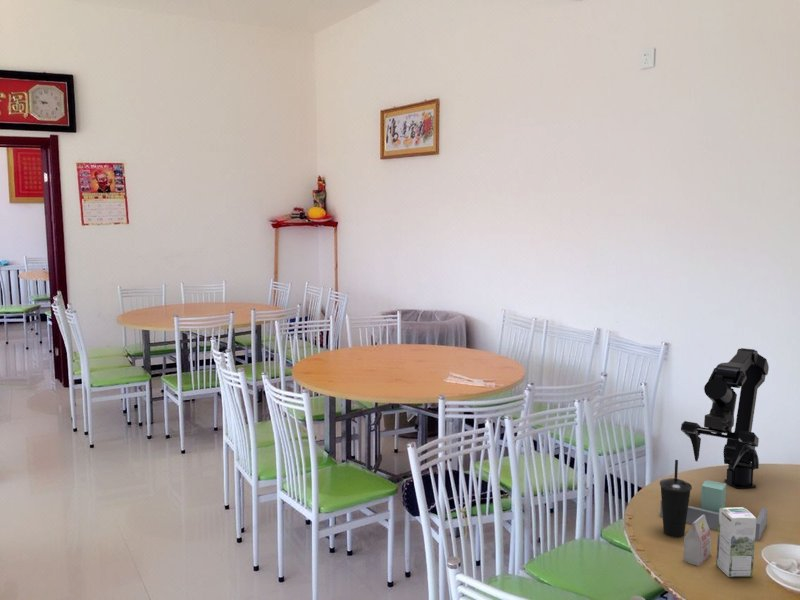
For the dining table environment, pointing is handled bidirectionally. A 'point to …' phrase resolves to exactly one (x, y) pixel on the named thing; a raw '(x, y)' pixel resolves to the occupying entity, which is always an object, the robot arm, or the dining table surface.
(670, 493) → the drinking cup
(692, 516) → the open crate
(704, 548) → the small gable top carton
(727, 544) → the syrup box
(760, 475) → the dining table surface
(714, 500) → the green block
